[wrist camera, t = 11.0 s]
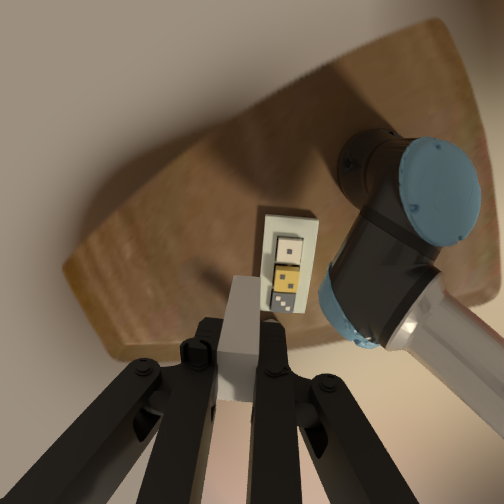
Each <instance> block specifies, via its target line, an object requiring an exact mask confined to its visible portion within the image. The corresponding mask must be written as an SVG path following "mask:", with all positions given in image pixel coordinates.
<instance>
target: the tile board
mask: <svg viewBox="0 0 504 504" xmlns="http://www.w3.org/2000/svg"><path fill="white" fill-rule="evenodd" d="M318 225H319V220H318V219H316V218H305V217H294V216H283V215H271V214H266V216H265V228H264V239H263V251H262V262H261V273H260V277H261V296H260V310H262V311H271V306H270V298H271V289H274V283H272V280H273V271H274V263H280V264H293V265H299V270H300V275H299V282H298V288H297V293H295V300H294V306H293V313H305V308H306V302H307V296H308V291H309V285H310V279H311V273H312V266H313V260H314V253H315V247H316V240H317V233H318ZM277 236H288V237H300V238H303V239H302V240H303V244H302V252H301V259H300V264H299V263H286V262H277V260H276V258H275V252H276V242H277Z"/></svg>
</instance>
